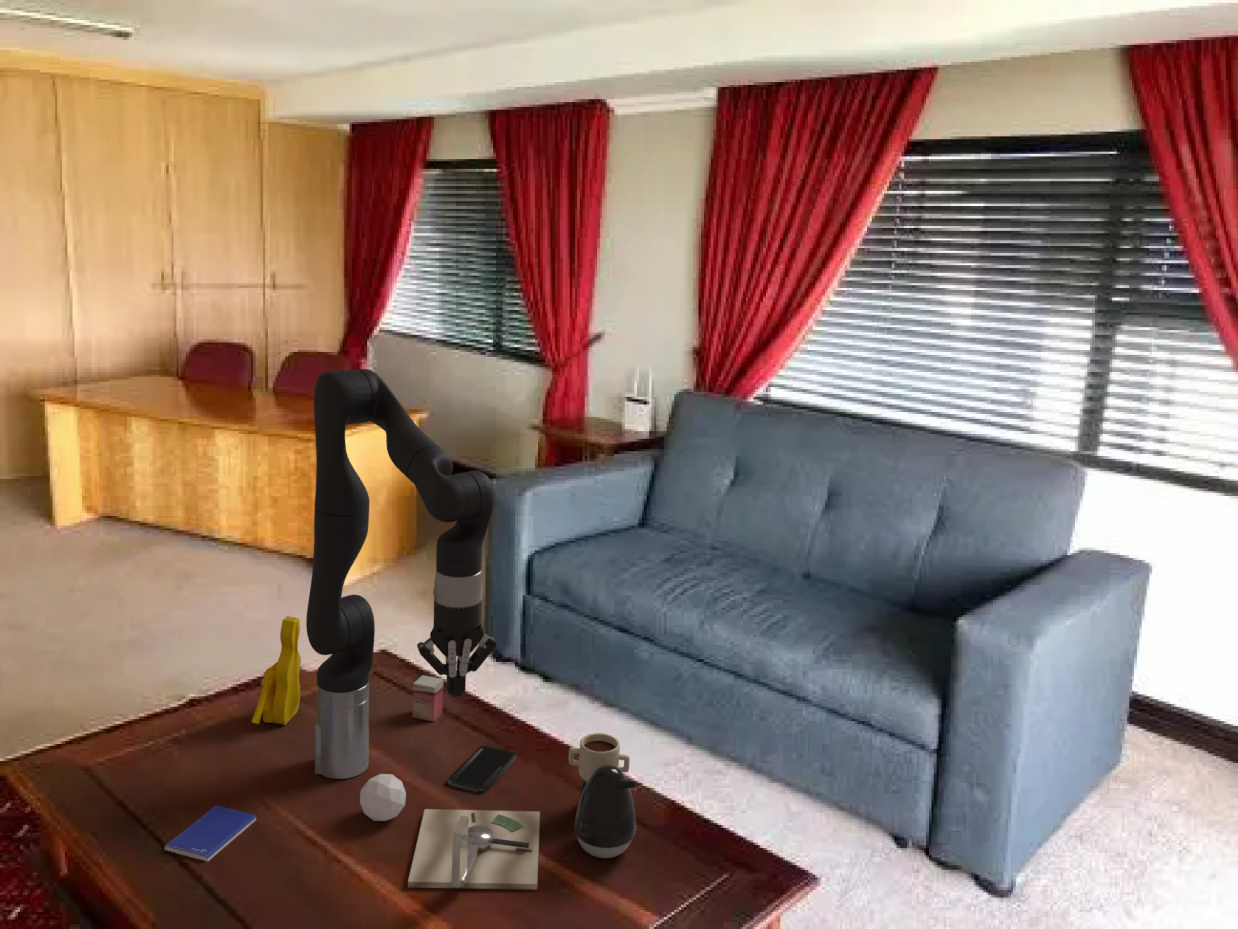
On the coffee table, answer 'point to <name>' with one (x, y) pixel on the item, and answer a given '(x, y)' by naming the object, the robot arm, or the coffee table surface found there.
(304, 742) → the coffee table surface
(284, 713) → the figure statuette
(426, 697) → the small box
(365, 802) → the geometric ball
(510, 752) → the phone
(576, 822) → the pump dispenser
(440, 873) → the dial board
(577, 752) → the character mug
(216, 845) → the hard drive
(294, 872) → the coffee table surface
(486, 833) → the key
